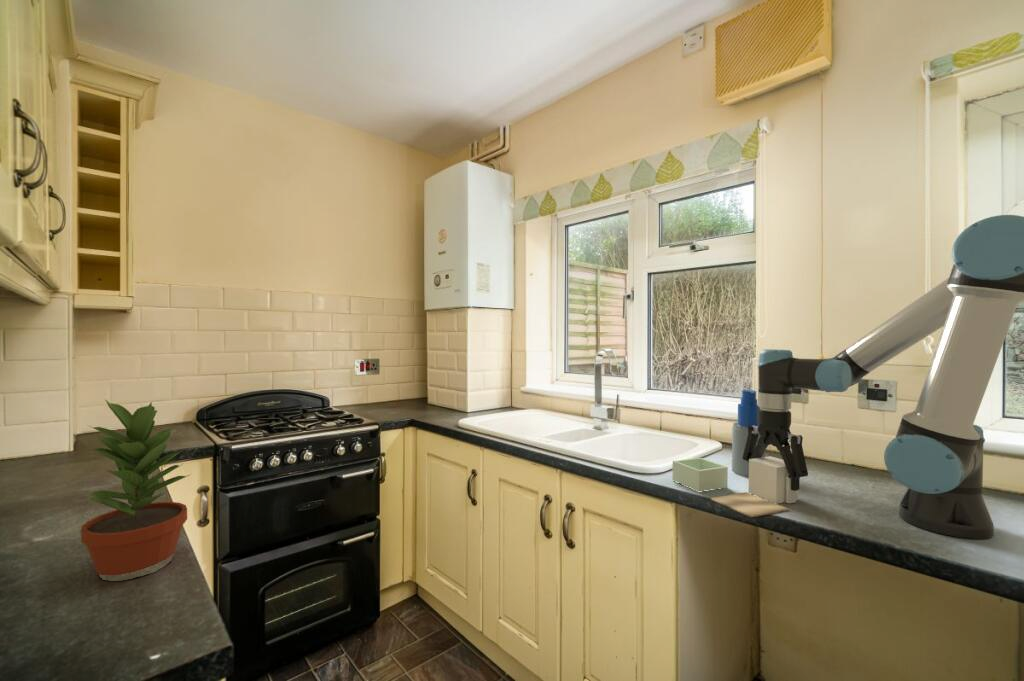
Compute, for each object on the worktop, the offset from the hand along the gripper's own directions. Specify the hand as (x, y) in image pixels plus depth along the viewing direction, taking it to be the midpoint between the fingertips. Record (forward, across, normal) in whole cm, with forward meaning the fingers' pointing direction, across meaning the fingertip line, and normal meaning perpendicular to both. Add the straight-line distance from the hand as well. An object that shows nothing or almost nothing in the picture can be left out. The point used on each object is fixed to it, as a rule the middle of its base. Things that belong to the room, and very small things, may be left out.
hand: (772, 495), depth 117 cm
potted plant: (0, +16, +138) cm, 139 cm away
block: (0, 0, 0) cm, 0 cm away
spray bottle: (0, +17, -11) cm, 20 cm away
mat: (0, -2, +11) cm, 11 cm away
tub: (0, +14, +11) cm, 18 cm away
